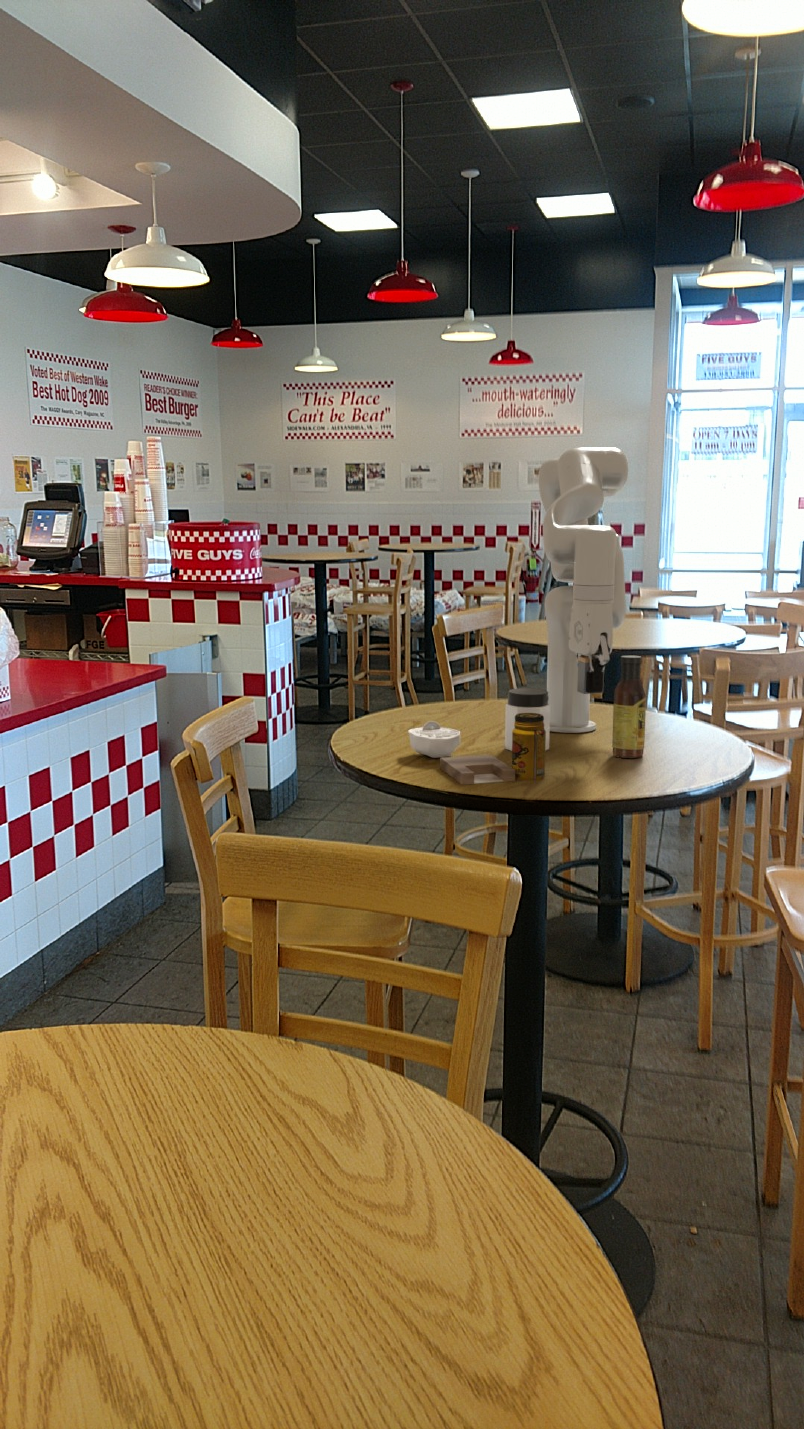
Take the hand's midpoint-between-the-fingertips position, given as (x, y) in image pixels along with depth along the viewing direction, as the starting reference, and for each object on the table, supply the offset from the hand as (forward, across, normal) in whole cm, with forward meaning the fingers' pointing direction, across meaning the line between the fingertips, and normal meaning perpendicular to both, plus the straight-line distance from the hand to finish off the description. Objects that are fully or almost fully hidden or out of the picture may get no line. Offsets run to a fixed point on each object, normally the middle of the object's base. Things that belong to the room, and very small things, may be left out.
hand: (589, 689), depth 204 cm
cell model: (+14, -12, -27) cm, 33 cm away
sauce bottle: (+14, -2, +10) cm, 18 cm away
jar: (+15, -13, -7) cm, 21 cm away
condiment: (+15, +8, -15) cm, 22 cm away
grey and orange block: (0, 0, 0) cm, 1 cm away
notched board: (+14, +4, -24) cm, 28 cm away
